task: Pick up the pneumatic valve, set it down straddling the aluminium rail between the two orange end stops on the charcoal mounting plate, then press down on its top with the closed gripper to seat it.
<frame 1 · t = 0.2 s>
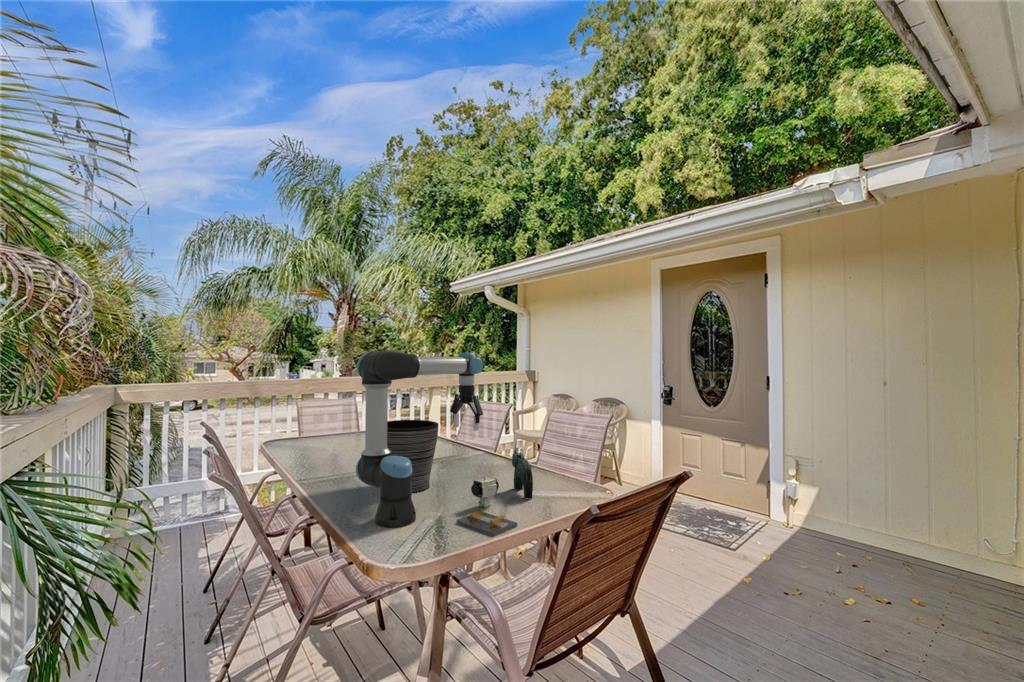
hand: (466, 428, 223), 28 cm above the table, tool pointing down, fingers open, 13 cm apart
rail plate: (486, 524, 173), on the table
ceramic cat: (523, 493, 213), on the table
pneumatic valve: (485, 506, 194), on the table
planter pot: (405, 487, 220), on the table
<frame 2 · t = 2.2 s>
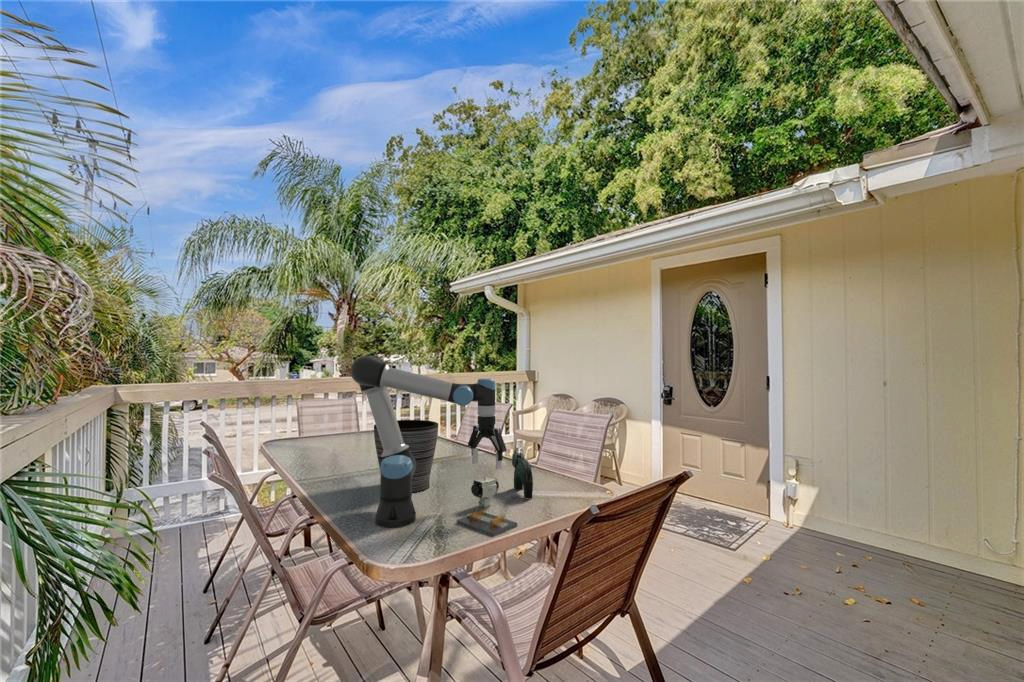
hand: (486, 466, 194), 17 cm above the table, tool pointing down, fingers open, 13 cm apart
nothing on the table moved.
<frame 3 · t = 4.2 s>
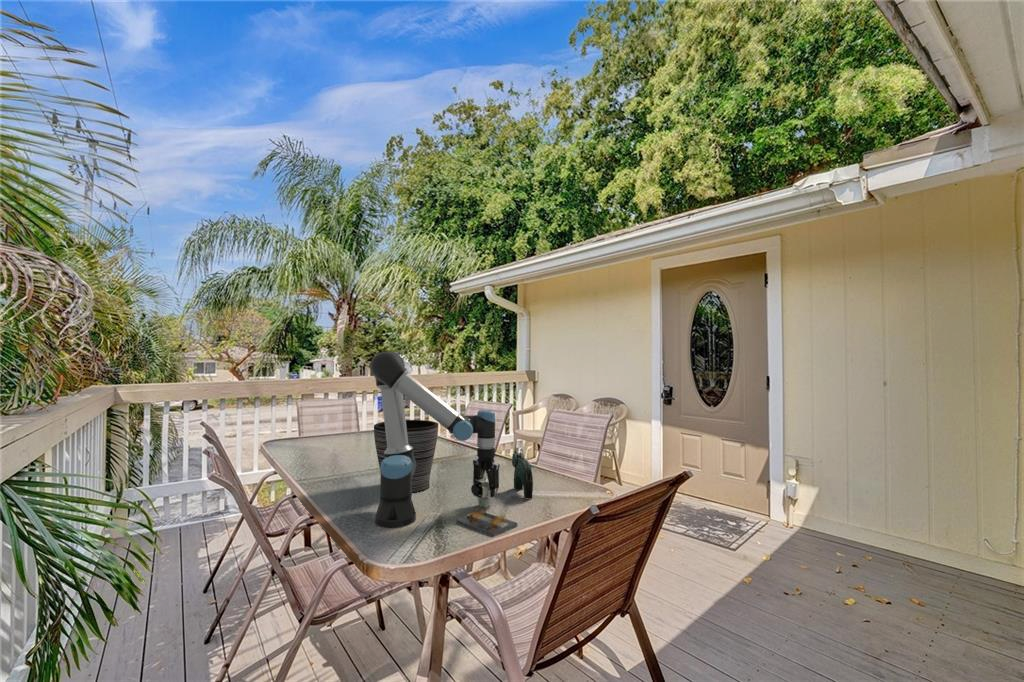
hand: (485, 502, 194), 1 cm above the table, tool pointing down, fingers closed on pneumatic valve, 5 cm apart
pneumatic valve: (485, 506, 194), on the table, touching gripper
everything else where it was.
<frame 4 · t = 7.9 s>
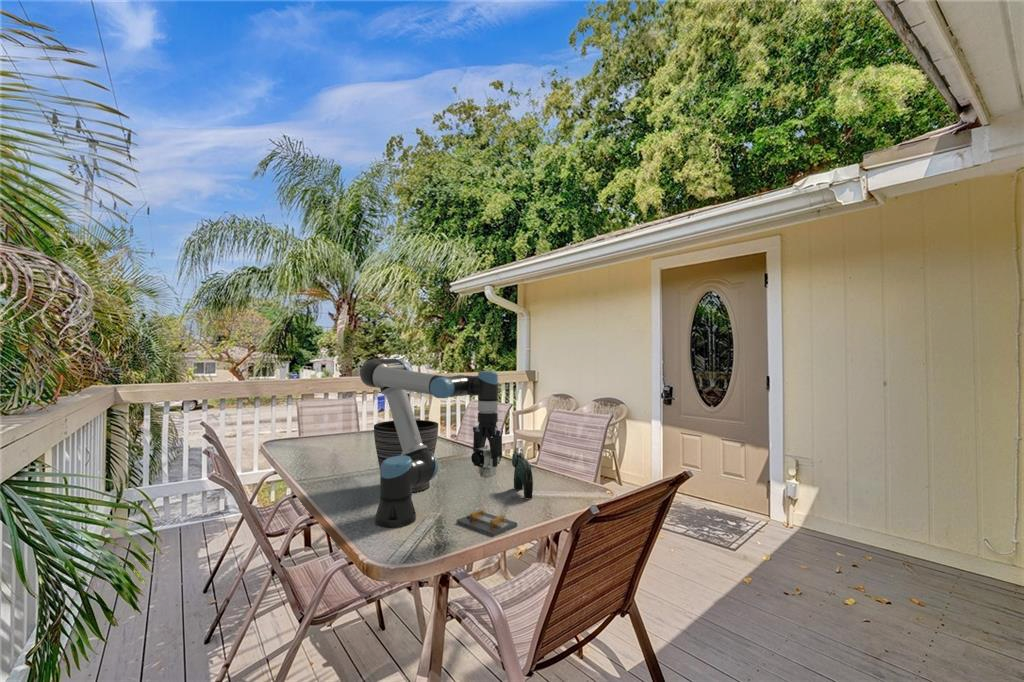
hand: (487, 473, 174), 19 cm above the table, tool pointing down, fingers closed on pneumatic valve, 5 cm apart
pneumatic valve: (487, 477, 174), point 17 cm above the table, touching gripper
everything else where it was.
when the fingers open (5 cm above the table, at t = 11.3 s): pneumatic valve drops 1 cm, resting on rail plate.
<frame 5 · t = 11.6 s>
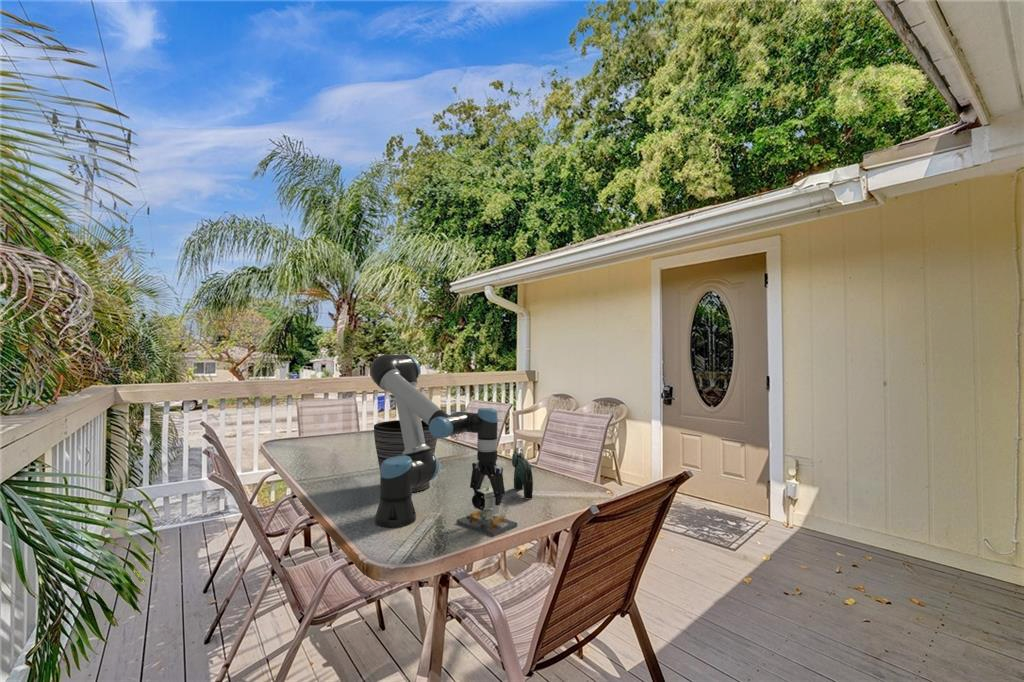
hand: (486, 510, 173), 5 cm above the table, tool pointing down, fingers open, 8 cm apart
pneumatic valve: (487, 519, 173), point 2 cm above the table, touching rail plate
everything else where it was.
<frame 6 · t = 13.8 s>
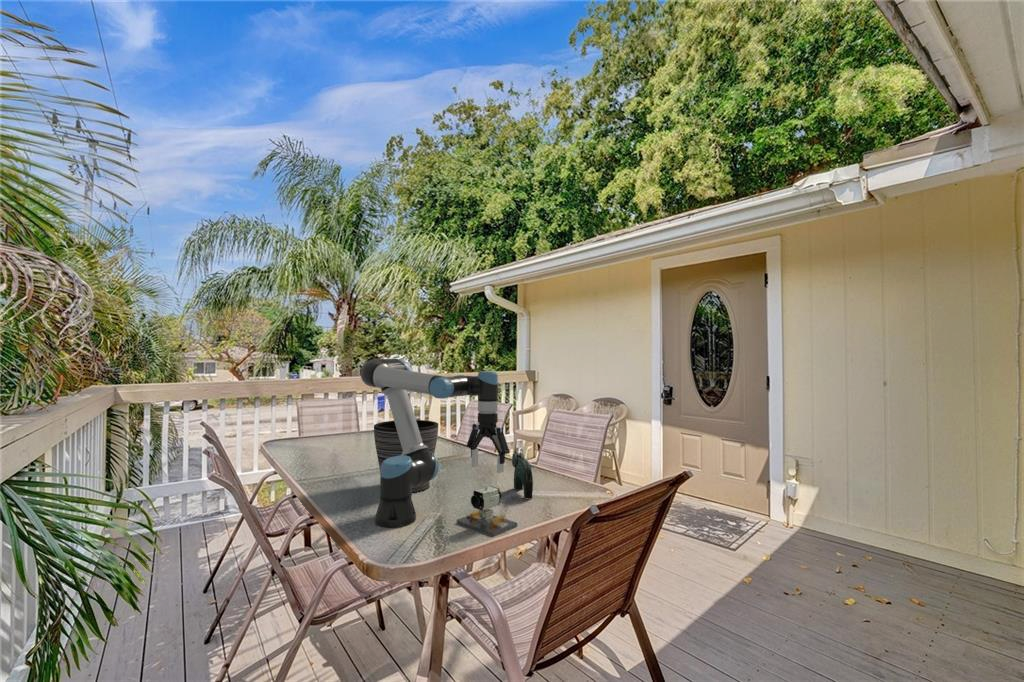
hand: (487, 469, 173), 20 cm above the table, tool pointing down, fingers open, 12 cm apart
nothing on the table moved.
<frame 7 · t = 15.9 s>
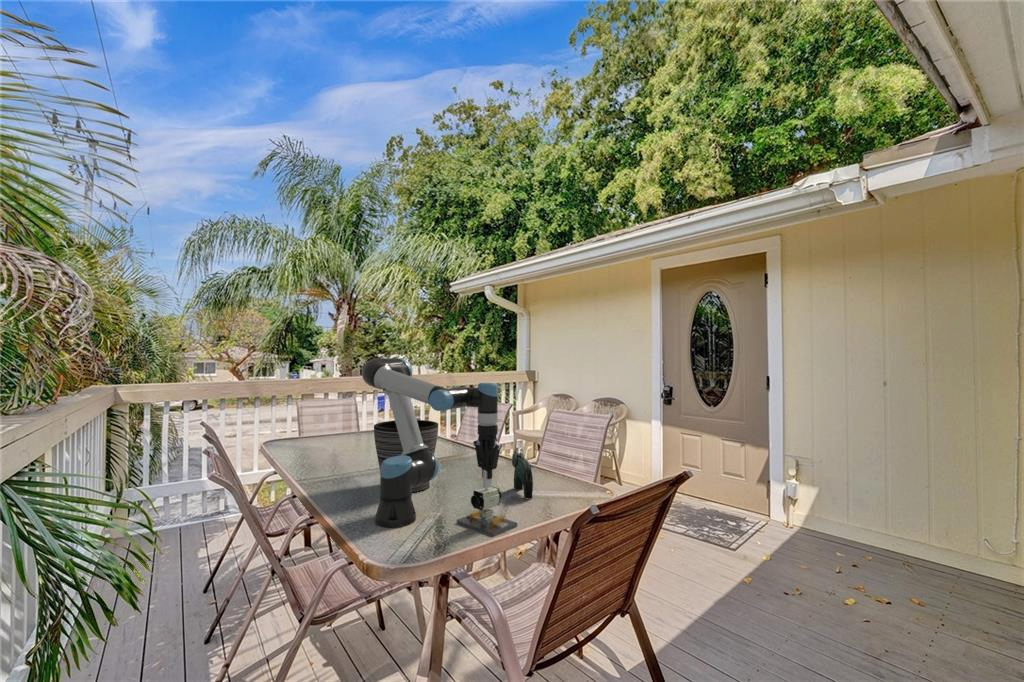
hand: (487, 487, 173), 14 cm above the table, tool pointing down, fingers closed
nothing on the table moved.
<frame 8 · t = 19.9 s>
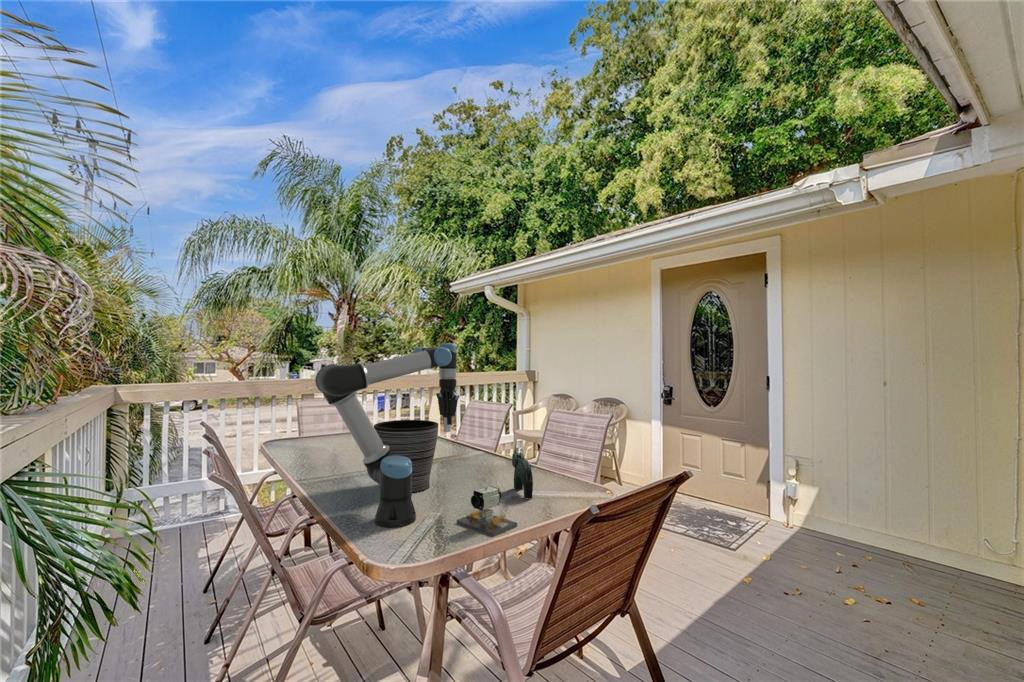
hand: (447, 431, 203), 29 cm above the table, tool pointing down, fingers closed
nothing on the table moved.
at the end: pneumatic valve 0.1 cm off-centre on the rail plate, point 1.8 cm above the rail plate's base; pneumatic valve tilted 0°; the gripper is holding nothing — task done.
